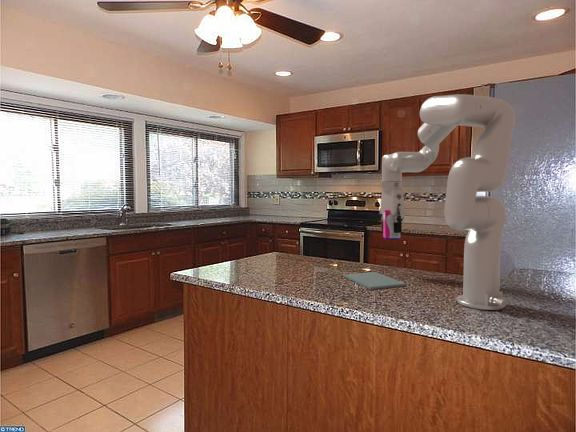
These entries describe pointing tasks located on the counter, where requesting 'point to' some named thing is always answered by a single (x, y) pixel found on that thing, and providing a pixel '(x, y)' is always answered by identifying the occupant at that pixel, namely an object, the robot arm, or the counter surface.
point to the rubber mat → (374, 280)
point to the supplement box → (389, 227)
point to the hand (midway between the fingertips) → (391, 231)
